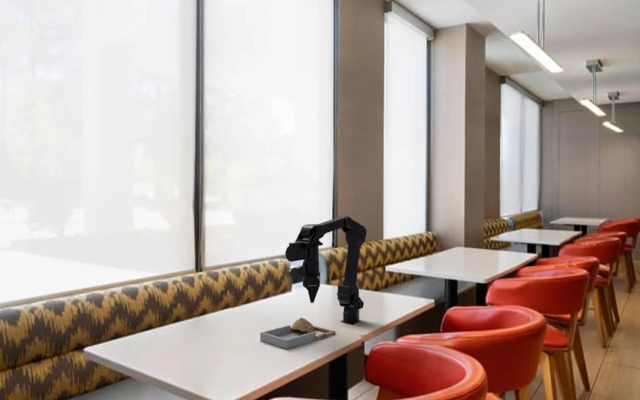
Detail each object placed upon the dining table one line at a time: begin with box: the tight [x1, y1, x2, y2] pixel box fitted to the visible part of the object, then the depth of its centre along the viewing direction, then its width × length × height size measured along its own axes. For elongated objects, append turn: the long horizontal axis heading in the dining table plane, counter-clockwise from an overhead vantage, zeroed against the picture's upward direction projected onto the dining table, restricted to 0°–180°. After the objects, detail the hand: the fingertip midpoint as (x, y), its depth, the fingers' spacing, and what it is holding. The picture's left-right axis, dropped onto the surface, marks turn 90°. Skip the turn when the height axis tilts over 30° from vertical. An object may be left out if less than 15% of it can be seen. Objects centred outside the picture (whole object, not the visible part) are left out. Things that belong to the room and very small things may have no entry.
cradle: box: [291, 325, 336, 341], centre depth 185 cm, size 9×16×2 cm, turn 46°
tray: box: [259, 324, 317, 350], centre depth 176 cm, size 14×14×3 cm
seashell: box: [291, 317, 315, 334], centre depth 186 cm, size 8×6×8 cm
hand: (312, 299), depth 184 cm, fingers open, 9 cm apart
